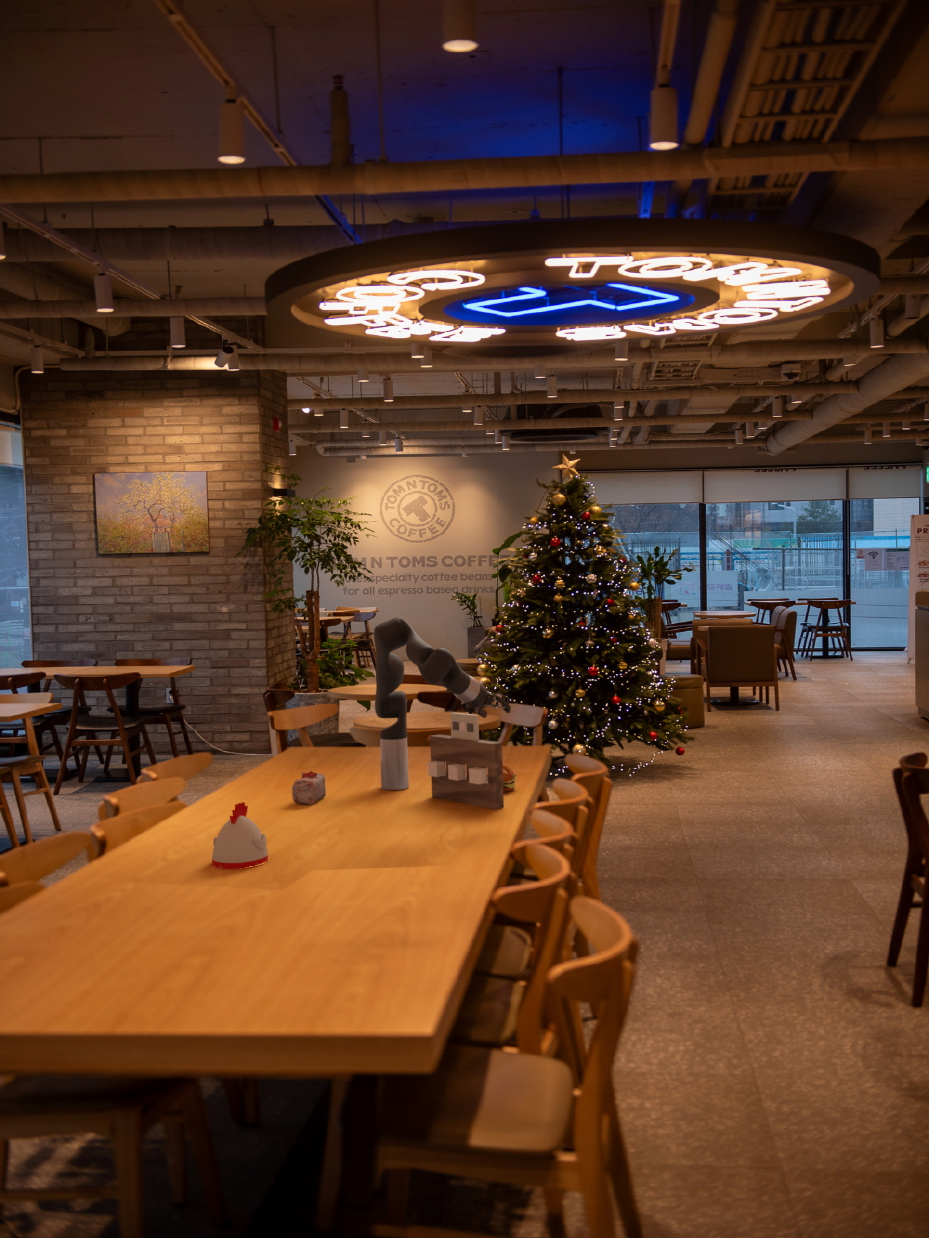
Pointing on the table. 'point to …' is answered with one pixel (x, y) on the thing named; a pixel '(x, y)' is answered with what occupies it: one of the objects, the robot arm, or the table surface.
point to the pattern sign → (464, 726)
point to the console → (472, 756)
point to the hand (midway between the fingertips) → (497, 712)
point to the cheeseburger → (508, 778)
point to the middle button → (457, 772)
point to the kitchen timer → (239, 842)
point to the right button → (478, 775)
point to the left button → (436, 768)
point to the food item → (309, 788)
